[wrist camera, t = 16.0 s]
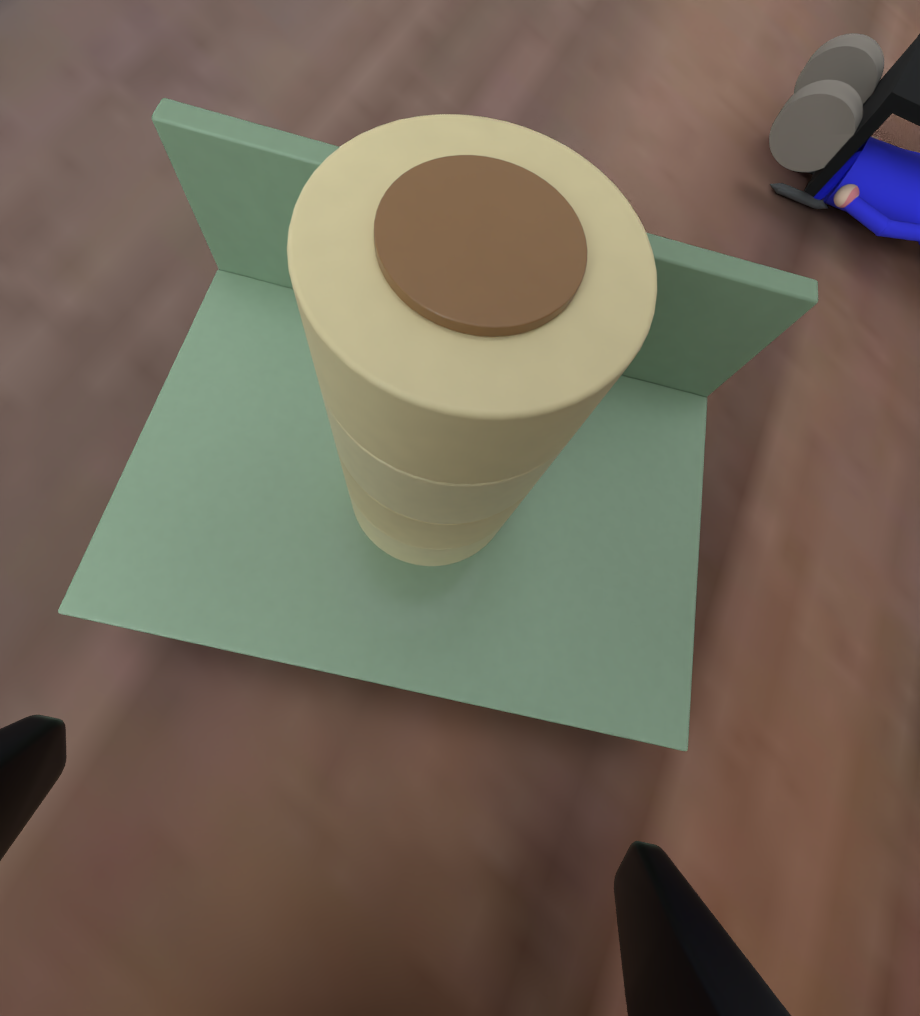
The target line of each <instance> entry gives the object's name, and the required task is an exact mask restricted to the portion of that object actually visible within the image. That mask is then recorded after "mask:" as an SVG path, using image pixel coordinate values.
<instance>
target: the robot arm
mask: <svg viewBox="0 0 920 1016" xmlns="http://www.w3.org/2000/svg"><path fill="white" fill-rule="evenodd" d="M65 763H66V729H65V724H64V722H63V721H62V720H60V719H57V718H52V717H47V716H43V715H32V716H29V717H26V718H24V719H21V720H19V721H17V722H15V723H13V724H10V725H8V726H6V727H4V728H1V729H0V861H1V859H2V858H3V856H4V855H5V853H6V852H7V851H8V849H9V848H10V846H11V845H12V843H13V842H14V841H15V839H16V838H17V836H18V835H19V834H20V832H21V831H22V829H23V828H24V826H25V825H26V824H27V822H28V821H29V819H30V818H31V817H32V815H33V814H34V812H35V811H36V809H37V808H38V807H39V805H40V804H41V802H42V801H43V799H44V798H45V797H46V795H47V794H48V792H49V791H50V790H51V788H52V787H53V785H54V784H55V782H56V781H57V780H58V778H59V777H60V775H61V773H62V771H63V769H64V766H65ZM614 895H615V904H616V914H617V923H618V932H619V941H620V951H621V960H622V969H623V979H624V988H625V996H626V1004H627V1012H628V1016H791V1015H790V1014H789V1012H788V1011H787V1010H786V1008H785V1007H784V1006H783V1005H782V1003H781V1002H780V1001H779V999H778V998H777V997H776V996H775V994H774V993H773V992H772V990H771V989H770V988H769V986H768V985H767V984H766V983H765V981H764V980H763V979H762V977H761V976H760V975H759V973H758V972H757V971H756V970H755V968H754V967H753V966H752V964H751V963H750V962H749V960H748V959H747V958H746V957H745V955H744V954H743V953H742V951H741V950H740V949H739V948H738V946H737V945H736V944H735V942H734V941H733V940H732V938H731V937H730V936H729V935H728V933H727V932H726V931H725V929H724V928H723V927H722V925H721V924H720V923H719V922H718V920H717V919H716V918H715V916H714V915H713V914H712V913H711V911H710V910H709V909H708V907H707V906H706V905H705V903H704V902H703V901H702V900H701V898H700V897H699V896H698V894H697V893H696V892H695V890H694V889H693V888H692V887H691V885H690V884H689V883H688V881H687V880H686V879H685V877H684V876H683V875H682V874H681V872H680V871H679V870H678V868H677V867H676V866H675V865H674V863H673V862H672V861H671V859H670V858H669V857H668V855H667V854H666V853H665V852H664V851H663V850H662V849H661V848H660V847H659V846H657V845H654V844H649V843H645V842H640V841H635V842H633V843H632V844H631V845H630V847H629V849H628V851H627V853H626V855H625V857H624V859H623V861H622V862H621V864H620V866H619V868H618V870H617V872H616V875H615V880H614Z"/></svg>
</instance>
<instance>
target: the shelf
mask: <svg viewBox="0 0 920 1016" xmlns="http://www.w3.org/2000/svg"><path fill="white" fill-rule="evenodd" d="M152 121H153V123H154V125H155V128H156V130H157V132H158V134H159V136H160V139H161V141H162V143H163V145H164V148H165V150H166V152H167V154H168V157H169V159H170V161H171V163H172V166H173V168H174V170H175V172H176V174H177V177H178V179H179V181H180V183H181V186H182V188H183V190H184V192H185V195H186V197H187V199H188V201H189V203H190V206H191V208H192V210H193V212H194V215H195V217H196V219H197V221H198V224H199V226H200V228H201V230H202V233H203V235H204V237H205V239H206V241H207V244H208V246H209V248H210V250H211V253H212V255H213V257H214V259H215V262H216V264H217V266H218V268H219V270H217V272H216V274H215V277H214V279H213V281H212V283H211V285H210V287H209V289H208V292H207V294H206V296H205V298H204V300H203V302H202V304H201V306H200V309H199V311H198V313H197V315H196V317H195V319H194V321H193V324H192V326H191V328H190V330H189V332H188V334H187V336H186V338H185V341H184V343H183V345H182V347H181V349H180V351H179V353H178V356H177V358H176V360H175V362H174V364H173V366H172V368H171V371H170V373H169V375H168V377H167V379H166V381H165V383H164V385H163V388H162V390H161V392H160V394H159V396H158V398H157V400H156V403H155V405H154V407H153V409H152V411H151V413H150V415H149V418H148V420H147V422H146V424H145V426H144V428H143V430H142V432H141V435H140V437H139V439H138V441H137V443H136V445H135V447H134V450H133V452H132V454H131V456H130V458H129V460H128V462H127V464H126V467H125V469H124V471H123V473H122V475H121V477H120V479H119V482H118V484H117V486H116V488H115V490H114V492H113V494H112V497H111V499H110V501H109V503H108V505H107V507H106V509H105V511H104V514H103V516H102V518H101V520H100V522H99V524H98V526H97V529H96V531H95V533H94V535H93V537H92V539H91V541H90V544H89V546H88V548H87V550H86V552H85V554H84V556H83V558H82V561H81V563H80V565H79V567H78V569H77V571H76V573H75V576H74V578H73V580H72V582H71V584H70V586H69V588H68V590H67V593H66V595H65V597H64V599H63V601H62V603H61V605H60V608H59V610H58V612H59V613H60V614H63V615H68V616H73V617H77V618H82V619H86V620H91V621H95V622H100V623H104V624H109V625H113V626H118V627H122V628H127V629H132V630H136V631H141V632H145V633H150V634H154V635H159V636H163V637H168V638H172V639H177V640H182V641H186V642H191V643H195V644H200V645H204V646H209V647H213V648H218V649H222V650H227V651H231V652H236V653H241V654H245V655H250V656H254V657H259V658H263V659H268V660H272V661H277V662H281V663H286V664H291V665H295V666H300V667H304V668H309V669H313V670H318V671H322V672H327V673H331V674H336V675H341V676H345V677H350V678H354V679H359V680H363V681H368V682H372V683H377V684H381V685H386V686H390V687H395V688H400V689H404V690H409V691H413V692H418V693H422V694H427V695H431V696H436V697H440V698H445V699H450V700H454V701H459V702H463V703H468V704H472V705H477V706H481V707H486V708H490V709H495V710H499V711H504V712H509V713H513V714H518V715H522V716H527V717H531V718H536V719H540V720H545V721H549V722H554V723H559V724H563V725H568V726H572V727H577V728H581V729H586V730H590V731H595V732H599V733H604V734H609V735H613V736H618V737H622V738H627V739H631V740H636V741H640V742H645V743H649V744H654V745H658V746H663V747H668V748H672V749H677V750H681V751H687V750H688V736H689V718H690V700H691V682H692V664H693V646H694V628H695V610H696V592H697V575H698V557H699V539H700V521H701V503H702V485H703V467H704V449H705V431H706V413H707V398H706V397H707V396H709V395H710V394H711V393H712V392H713V391H714V390H716V389H717V388H718V387H719V386H720V385H721V384H723V383H724V382H725V381H726V380H727V379H729V378H730V377H731V376H732V375H733V374H734V373H736V372H737V371H738V370H739V369H740V368H741V367H743V366H744V365H745V364H746V363H747V362H748V361H750V360H751V359H752V358H753V357H754V356H756V355H757V354H758V353H759V352H760V351H761V350H763V349H764V348H765V347H766V346H767V345H768V344H770V343H771V342H772V341H773V340H774V339H776V338H777V337H778V336H779V335H780V334H781V333H783V332H784V331H785V330H786V329H787V328H788V327H790V326H791V325H792V324H793V323H794V322H796V321H797V320H798V319H799V318H800V317H801V316H803V315H804V314H805V313H806V312H807V311H808V310H810V309H811V308H812V307H813V306H814V305H816V304H817V302H818V282H817V281H816V280H814V279H810V278H807V277H803V276H800V275H796V274H793V273H789V272H785V271H782V270H778V269H775V268H771V267H768V266H764V265H760V264H757V263H753V262H750V261H746V260H743V259H739V258H735V257H732V256H728V255H725V254H721V253H717V252H714V251H710V250H707V249H703V248H700V247H696V246H692V245H689V244H685V243H682V242H678V241H675V240H671V239H667V238H664V237H660V236H657V235H653V234H650V233H646V234H647V236H648V239H649V242H650V245H651V248H652V251H653V255H654V260H655V266H656V271H657V296H656V304H655V312H654V316H653V320H652V323H651V326H650V330H649V333H648V335H647V337H646V339H645V341H644V343H643V345H642V347H641V349H640V351H639V352H638V353H637V355H636V356H635V358H634V359H633V360H632V362H631V363H630V365H629V366H628V367H627V369H626V370H625V371H624V372H623V374H622V375H621V376H620V377H619V379H618V380H617V381H616V382H615V384H614V385H613V386H612V388H611V389H610V390H609V391H608V393H607V394H606V395H605V396H604V398H603V399H602V400H601V401H600V403H599V404H598V405H597V407H596V408H595V409H594V410H593V412H592V413H591V414H590V415H589V417H588V418H587V419H586V421H585V422H584V423H583V424H582V426H581V427H580V428H579V429H578V431H577V432H576V433H575V434H574V436H573V437H572V438H571V439H570V441H569V442H568V443H567V445H566V446H565V447H564V448H563V450H562V451H561V452H560V453H559V455H558V456H557V457H556V459H555V460H554V461H553V462H552V464H551V465H550V466H549V467H548V469H547V470H546V471H545V473H544V474H543V475H542V476H541V478H540V479H539V480H538V481H537V483H536V484H535V485H534V486H533V488H532V489H531V490H530V492H529V493H528V494H527V495H526V497H525V498H524V499H523V500H522V502H521V503H520V504H519V505H518V507H517V508H516V509H515V511H514V512H513V513H512V514H511V516H510V517H509V518H508V519H507V521H506V522H505V523H504V525H503V526H502V527H501V528H500V530H499V531H498V532H497V533H496V535H495V536H494V537H493V538H492V540H491V541H490V542H489V543H488V544H487V545H486V546H485V547H483V548H482V549H481V550H480V551H478V552H477V553H475V554H474V555H472V556H470V557H469V558H466V559H464V560H462V561H459V562H456V563H452V564H449V565H442V566H421V565H415V564H411V563H407V562H404V561H401V560H399V559H396V558H394V557H392V556H391V555H389V554H387V553H385V552H384V551H383V550H381V549H380V548H379V547H377V546H376V545H375V544H374V543H373V542H372V541H371V540H370V539H369V538H368V536H367V535H366V534H365V532H364V531H363V530H362V528H361V526H360V524H359V523H358V521H357V518H356V516H355V513H354V510H353V507H352V503H351V499H350V496H349V492H348V488H347V485H346V481H345V477H344V474H343V470H342V466H341V463H340V459H339V455H338V452H337V448H336V444H335V441H334V437H333V433H332V430H331V426H330V422H329V419H328V415H327V411H326V408H325V404H324V400H323V397H322V393H321V389H320V386H319V382H318V378H317V375H316V371H315V367H314V364H313V360H312V356H311V353H310V349H309V345H308V342H307V338H306V334H305V331H304V327H303V323H302V320H301V316H300V312H299V309H298V305H297V301H296V298H295V294H294V290H293V286H292V282H291V278H290V274H289V270H288V258H287V241H288V230H289V225H290V222H291V218H292V214H293V211H294V207H295V204H296V202H297V200H298V198H299V196H300V193H301V191H302V189H303V187H304V186H305V184H306V183H307V181H308V180H309V178H310V177H311V175H312V174H313V172H314V171H315V170H316V169H317V168H318V167H319V166H320V165H321V164H322V162H323V161H324V160H325V159H326V158H327V157H328V156H329V155H331V154H332V153H333V152H334V151H336V150H337V149H338V148H339V147H338V146H335V145H331V144H328V143H324V142H320V141H317V140H313V139H310V138H306V137H302V136H299V135H295V134H292V133H288V132H285V131H281V130H277V129H274V128H270V127H267V126H263V125H260V124H256V123H252V122H249V121H245V120H242V119H238V118H235V117H231V116H227V115H224V114H220V113H217V112H213V111H209V110H206V109H202V108H199V107H195V106H192V105H188V104H184V103H181V102H177V101H174V100H170V99H167V98H163V99H162V100H161V101H160V103H159V105H158V106H157V108H156V110H155V111H154V113H153V115H152Z"/></svg>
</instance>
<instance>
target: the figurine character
mask: <svg viewBox="0 0 920 1016" xmlns="http://www.w3.org/2000/svg"><path fill="white" fill-rule="evenodd" d="M883 69H884V56H883V52H882V50H881V48H880V46H879V45H878V43H877V42H876V41H875V40H873V39H872V38H870V37H868V36H866V35H862V34H845V35H841V36H838V37H836V38H834V39H832V40H830V41H828V42H826V43H825V44H824V45H822V46H821V47H820V48H819V49H818V50H817V51H816V52H815V53H814V54H813V55H812V57H811V58H810V59H809V61H808V63H807V64H806V66H805V67H804V69H803V70H802V72H801V74H800V75H799V77H798V79H797V82H796V85H795V89H794V94H793V95H792V96H791V97H790V99H789V100H788V101H787V102H786V104H785V105H784V107H783V108H782V110H781V111H780V113H779V115H778V116H777V118H776V119H775V121H774V123H773V125H772V128H771V131H770V136H769V145H770V149H771V152H772V155H773V156H774V158H775V159H776V161H777V162H778V163H779V164H781V165H782V166H783V167H785V168H787V169H790V170H793V171H797V172H807V173H810V174H812V175H813V176H812V178H811V180H810V181H809V183H808V185H807V187H806V188H805V190H804V192H803V191H801V190H798V189H796V188H793V187H791V186H788V185H786V184H783V183H777V184H770V185H771V186H772V188H773V189H774V190H775V192H776V193H778V194H780V195H783V196H785V197H787V198H790V199H792V200H795V201H797V202H800V203H802V204H804V205H807V206H809V207H812V208H814V209H823V208H828V207H827V205H826V204H828V205H831V206H833V207H836V208H838V209H841V210H843V211H846V212H847V213H849V214H850V215H851V216H853V217H854V218H855V219H856V220H858V221H859V222H860V223H862V224H863V225H864V226H865V227H867V228H868V229H869V230H871V231H872V232H873V233H874V234H875V235H876V236H878V237H879V236H882V237H889V238H896V239H904V240H911V241H918V243H919V245H920V153H917V152H913V151H909V150H905V149H902V148H899V147H897V146H894V145H891V144H889V143H886V142H883V141H881V139H880V138H879V137H876V136H873V137H870V136H871V135H872V134H873V133H874V132H875V131H876V130H877V129H878V128H879V127H880V126H881V125H882V123H883V122H884V121H885V120H886V119H887V118H888V117H889V116H890V115H891V114H892V113H893V114H895V115H897V116H900V117H902V118H904V119H906V120H908V121H910V122H912V123H914V124H916V125H918V126H920V34H919V35H918V37H917V38H916V39H915V40H914V42H913V43H912V44H911V45H910V46H909V47H908V49H907V50H906V51H905V52H904V53H903V54H902V56H901V57H900V58H899V59H898V60H897V61H896V63H895V64H894V65H893V66H892V67H891V68H890V70H889V71H888V72H887V73H886V74H885V75H884V77H883V78H882V79H881V76H882V73H883ZM880 79H881V80H880ZM805 192H806V193H805ZM823 198H824V200H822V199H823ZM825 203H826V204H825Z"/></svg>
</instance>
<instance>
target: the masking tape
mask: <svg viewBox="0 0 920 1016" xmlns="http://www.w3.org/2000/svg"><path fill="white" fill-rule="evenodd" d="M287 258H288V270H289V274H290V278H291V282H292V286H293V290H294V294H295V298H296V301H297V305H298V309H299V312H300V316H301V320H302V323H303V327H304V331H305V334H306V338H307V342H308V345H309V349H310V353H311V356H312V360H313V364H314V367H315V371H316V375H317V378H318V382H319V386H320V389H321V393H322V397H323V400H324V404H325V408H326V411H327V415H328V419H329V422H330V426H331V430H332V433H333V437H334V441H335V444H336V448H337V452H338V455H339V459H340V463H341V466H342V470H343V474H344V477H345V481H346V485H347V488H348V492H349V496H350V499H351V503H352V507H353V510H354V513H355V516H356V518H357V521H358V523H359V524H360V526H361V528H362V530H363V531H364V532H365V534H366V535H367V536H368V538H369V539H370V540H371V541H372V542H373V543H374V544H375V545H376V546H377V547H379V548H380V549H381V550H383V551H384V552H385V553H387V554H389V555H391V556H392V557H394V558H396V559H399V560H401V561H404V562H407V563H411V564H415V565H421V566H442V565H449V564H452V563H456V562H459V561H462V560H464V559H466V558H469V557H470V556H472V555H474V554H475V553H477V552H478V551H480V550H481V549H482V548H483V547H485V546H486V545H487V544H488V543H489V542H490V541H491V540H492V538H493V537H494V536H495V535H496V533H497V532H498V531H499V530H500V528H501V527H502V526H503V525H504V523H505V522H506V521H507V519H508V518H509V517H510V516H511V514H512V513H513V512H514V511H515V509H516V508H517V507H518V505H519V504H520V503H521V502H522V500H523V499H524V498H525V497H526V495H527V494H528V493H529V492H530V490H531V489H532V488H533V486H534V485H535V484H536V483H537V481H538V480H539V479H540V478H541V476H542V475H543V474H544V473H545V471H546V470H547V469H548V467H549V466H550V465H551V464H552V462H553V461H554V460H555V459H556V457H557V456H558V455H559V453H560V452H561V451H562V450H563V448H564V447H565V446H566V445H567V443H568V442H569V441H570V439H571V438H572V437H573V436H574V434H575V433H576V432H577V431H578V429H579V428H580V427H581V426H582V424H583V423H584V422H585V421H586V419H587V418H588V417H589V415H590V414H591V413H592V412H593V410H594V409H595V408H596V407H597V405H598V404H599V403H600V401H601V400H602V399H603V398H604V396H605V395H606V394H607V393H608V391H609V390H610V389H611V388H612V386H613V385H614V384H615V382H616V381H617V380H618V379H619V377H620V376H621V375H622V374H623V372H624V371H625V370H626V369H627V367H628V366H629V365H630V363H631V362H632V360H633V359H634V358H635V356H636V355H637V353H638V352H639V351H640V349H641V347H642V345H643V343H644V341H645V339H646V337H647V335H648V333H649V330H650V326H651V323H652V320H653V316H654V312H655V304H656V296H657V271H656V266H655V260H654V255H653V251H652V248H651V245H650V242H649V239H648V236H647V234H646V232H645V229H644V227H643V225H642V223H641V221H640V219H639V217H638V216H637V214H636V213H635V211H634V209H633V208H632V206H631V205H630V203H629V202H628V200H627V199H626V198H625V197H624V195H623V194H622V193H621V192H620V191H619V189H618V188H617V187H616V186H615V185H614V184H613V183H612V182H611V181H610V180H609V179H608V178H607V177H606V176H605V175H604V174H603V173H602V172H601V171H600V170H599V169H598V168H596V167H595V166H594V165H593V164H591V163H590V162H589V161H587V160H586V159H585V158H584V157H582V156H581V155H579V154H578V153H576V152H574V151H573V150H571V149H570V148H568V147H567V146H565V145H563V144H561V143H559V142H557V141H555V140H553V139H552V138H550V137H548V136H546V135H543V134H541V133H538V132H536V131H533V130H531V129H528V128H526V127H522V126H519V125H516V124H513V123H509V122H506V121H501V120H496V119H492V118H487V117H480V116H471V115H456V114H438V115H426V116H417V117H412V118H407V119H402V120H397V121H394V122H391V123H387V124H384V125H381V126H378V127H376V128H374V129H371V130H369V131H367V132H364V133H362V134H360V135H358V136H357V137H355V138H353V139H352V140H350V141H348V142H347V143H345V144H343V145H342V146H341V147H339V148H338V149H337V150H336V151H334V152H333V153H332V154H331V155H329V156H328V157H327V158H326V159H325V160H324V161H323V162H322V164H321V165H320V166H319V167H318V168H317V169H316V170H315V171H314V172H313V174H312V175H311V177H310V178H309V180H308V181H307V183H306V184H305V186H304V187H303V189H302V191H301V193H300V196H299V198H298V200H297V202H296V204H295V207H294V211H293V214H292V218H291V222H290V225H289V230H288V241H287Z"/></svg>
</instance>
